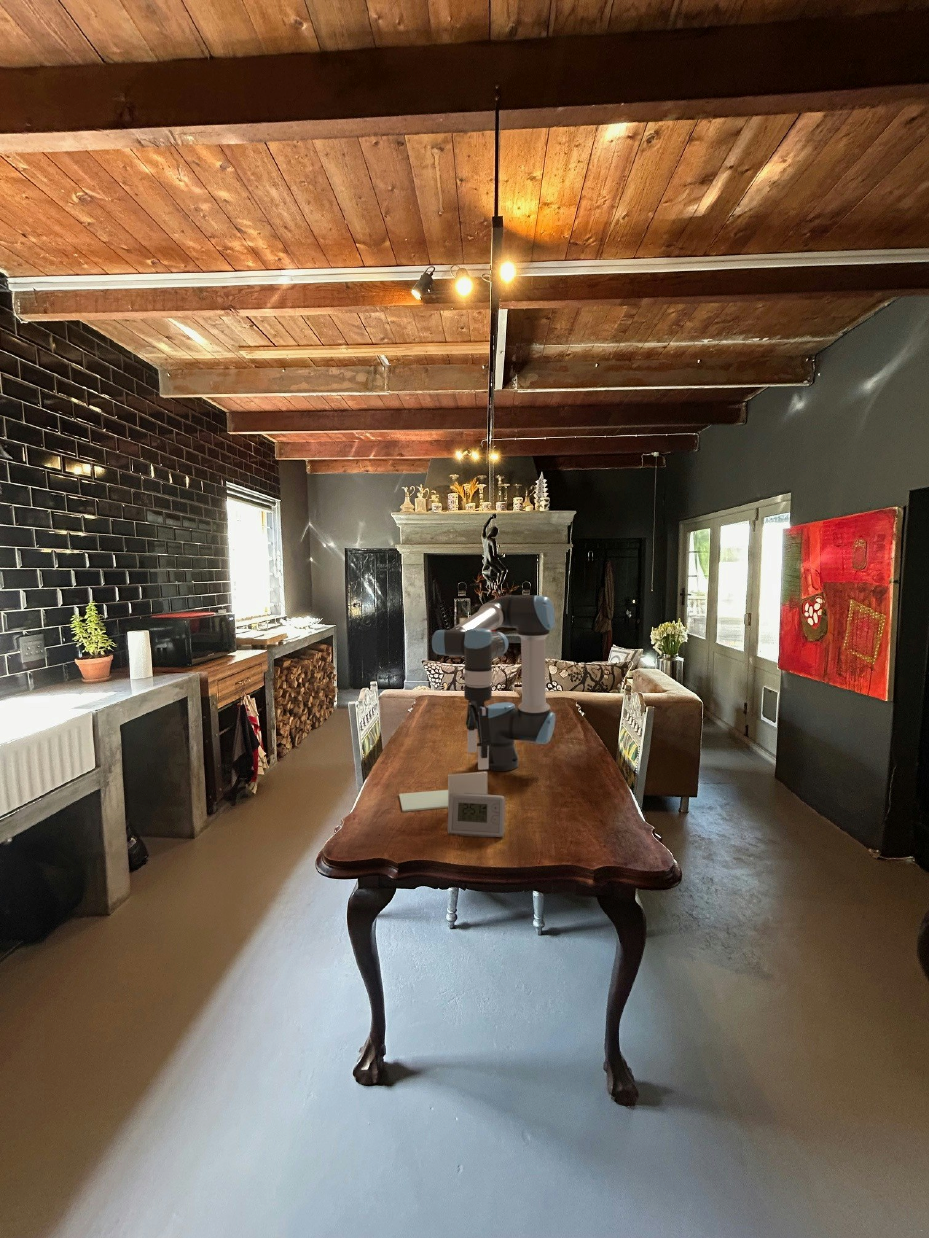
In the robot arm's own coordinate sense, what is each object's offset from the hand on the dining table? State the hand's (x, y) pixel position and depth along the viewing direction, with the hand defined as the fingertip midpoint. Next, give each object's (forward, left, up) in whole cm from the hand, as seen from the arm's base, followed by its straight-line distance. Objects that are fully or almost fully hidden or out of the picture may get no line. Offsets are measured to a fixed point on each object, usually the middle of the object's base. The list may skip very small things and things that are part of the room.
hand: (477, 760), depth 149 cm
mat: (+10, -23, -21) cm, 33 cm away
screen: (0, -13, -21) cm, 25 cm away
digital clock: (0, 0, -21) cm, 21 cm away
